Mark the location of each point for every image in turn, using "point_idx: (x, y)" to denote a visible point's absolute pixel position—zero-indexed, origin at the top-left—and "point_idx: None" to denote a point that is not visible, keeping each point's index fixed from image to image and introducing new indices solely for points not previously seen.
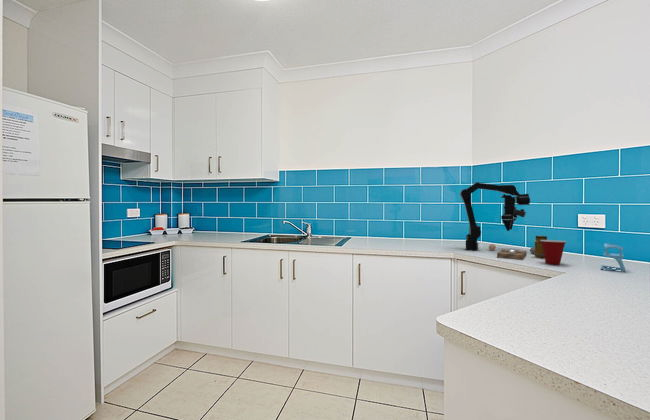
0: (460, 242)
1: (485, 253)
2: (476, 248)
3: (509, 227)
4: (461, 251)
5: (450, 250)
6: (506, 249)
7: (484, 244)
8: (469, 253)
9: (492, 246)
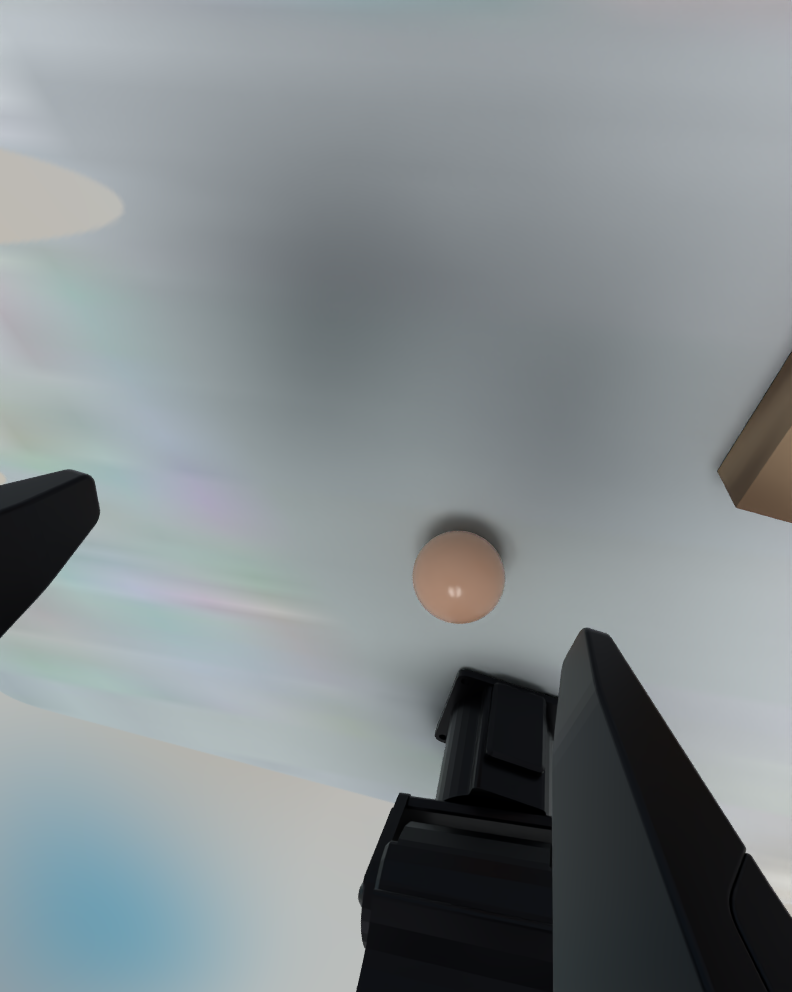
0: (77, 701)
1: (758, 654)
2: (545, 712)
3: (681, 762)
4: None
5: None
6: (774, 455)
7: None
8: (777, 778)
9: (501, 593)
